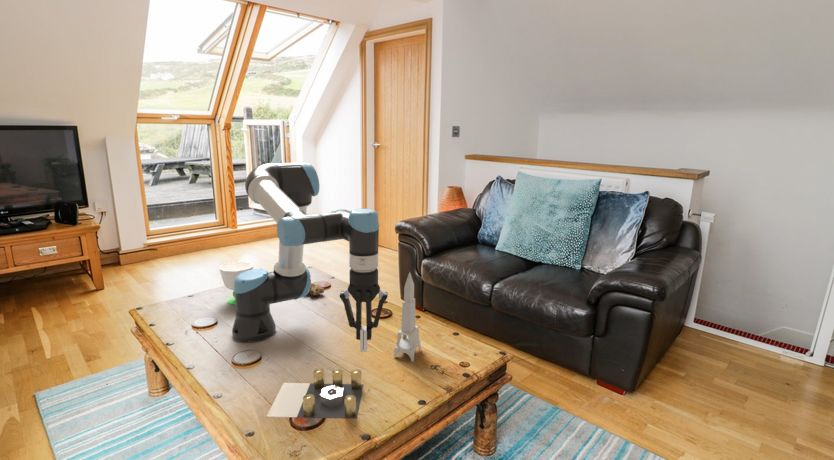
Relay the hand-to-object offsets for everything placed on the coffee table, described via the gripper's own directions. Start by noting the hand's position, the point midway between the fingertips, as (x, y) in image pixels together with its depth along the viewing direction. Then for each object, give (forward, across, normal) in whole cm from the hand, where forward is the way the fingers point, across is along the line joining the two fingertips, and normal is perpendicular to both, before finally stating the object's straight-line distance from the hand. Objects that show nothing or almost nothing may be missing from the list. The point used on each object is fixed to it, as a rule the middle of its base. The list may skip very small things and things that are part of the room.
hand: (363, 349), depth 125 cm
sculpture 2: (+17, +12, +28) cm, 35 cm away
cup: (+17, -62, +71) cm, 96 cm away
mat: (+16, -13, 0) cm, 21 cm away
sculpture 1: (+17, -37, +81) cm, 91 cm away
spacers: (+16, -9, 0) cm, 18 cm away
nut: (+16, -9, 0) cm, 18 cm away
